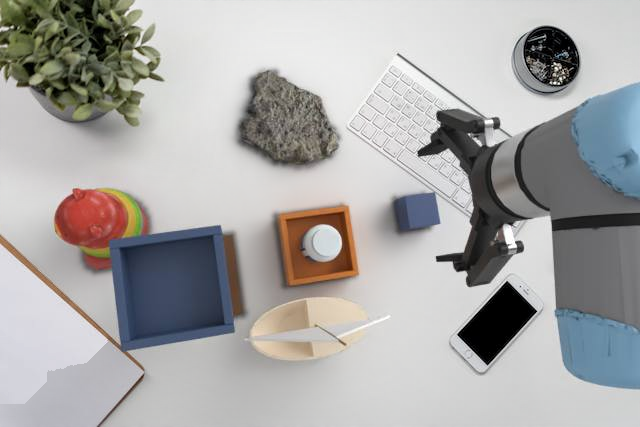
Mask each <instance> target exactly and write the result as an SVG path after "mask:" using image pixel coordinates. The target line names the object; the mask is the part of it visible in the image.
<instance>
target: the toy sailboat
mask: <svg viewBox="0 0 640 427" xmlns="http://www.w3.org/2000/svg"><path fill="white" fill-rule="evenodd" d="M390 318H391V315H383V316H378V317H377V316H376V317H371V318H368V315H367V312H366V311H365V309H363V308H362V307H361V306H360V305H359V304H357V303H354V302H352V301H350V300H348V299H344V298H343V299H342V298H339V297H332V296H331V297H329V296H316V297H304V298H301V299H296V300H291V301H288V302H286V303H283V304H280V305H277V306H275V307H274V308H271V309H270V310H268V311H266V312H264V313H263V314H262V315H261V316H260V317H259V318H258V319H257V320H255V322H254V323H253V325H252V327H251V328H250V330H249V337H245V338H244V341H247V342H248V341H250V343H251V346H252V347H253V348H254V349H255V350H256V351H258V353H260V354H262V355H265V356H267V357H269V358H273V359H277V360H282V361H298V362H300V361H309V360H310V361H311V360H316V359H320V358H324V357H328V356H332V355H334V354H337V353H339V352H342V351H344V350H345V349H348V348H349V347H351V346H353V345H354V344H355V343H357V342H358V341H359V340H360V339H361V338H362V337H363V336H364V335H365V333H366V331H367V329H368V327H370V326H372V325H375V324H378V323H379V322H383V321H384V320H388V319H390Z"/></svg>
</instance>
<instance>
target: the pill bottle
mask: <svg viewBox="0 0 640 427" xmlns="http://www.w3.org/2000/svg"><path fill="white" fill-rule="evenodd" d="M341 247H342V240H341V236H340V234H339V233H338V231H337V230H336V229H335V228H333V227H332V226H329V225H323V224H322V225H317V226H315V227H313V228H311V229H309V230H308V231H306V232H305V233H304V234H303V236H302V237H301V240H300V251H301V253H302V255H303V256H304V257H305V258H306V259H307V260H309V261H311V262H315V263H319V262H327V261H330V260H332V259H334V258H335V257H336V256H337V255H338V254H339V252H340V250H341Z"/></svg>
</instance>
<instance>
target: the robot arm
mask: <svg viewBox="0 0 640 427" xmlns="http://www.w3.org/2000/svg"><path fill="white" fill-rule="evenodd" d="M435 117H436V121H437V122H439V123H440V125H439V126H438V127H437V129H436V131H434V132H432V133H431V134H430V142H429V143H428V144H426V145H424V146H423V147H420V149H418V150H417V151H416V152H417V153H416V154H417V158H419V157H420V158H421V157H426V156H427V157H429V156H435V155H439V154H441V153H443V152H445V151H447V150H449V151H450V152H451V153H452V155H454V157H455V158H456V159H457V160H458V161H459V164H458V166H459V168H460V169H461V170H462V171H463V172H464V173H465V174H466V175H467V179H468V185H469V188H470V191H471V198H472V199H471V202H472V206H473V209H472V212H471V216H470V219H469V224H470V225H471V227H470V228H471V229H470V231H469V235H468V237H467V241H466V244H465V247H464V250H463V252H462V251H461V252H452V253H447V254H439V255H435V262H436V263H452V267H453V270H454V271H455V272H456V273H461V272H465V273H466V277H465V284H466V286H467V288H473V287H478V286H479V287H480V286H484V285H489V284H491V283H492V282H493V281H494V279H495V278H496V277H497V276H498V274H499V273H500V272H501V271H502V269H503V268H504V267H505V265H507V264H508V262H509V261H510V260H511V258H512V257H513V256H514V255H518V254H521V253H524V251H525V245H524V242H523V241H522V240H516V239H515V237H514V233H513V229H512V227H513V226H514V225H515V223H516V222H522V221H529V220H534V219H539V218H547V217H550V222H551V223H550V224H551V225H550V226H551V240H552V241H551V242H552V259H553V260H552V261H553V276H554V277H553V280H554V296H555V299H554V300H555V309H554V311H553V312H554V317H555V318H556V321H557V329H558V330H557V331H558V337H559V346H560V350H561V351H560V352H561V360H562V364H563V366H564V369H566V371H567V372H568V373H570V374H571V375H572V376H573V377H575V378H577V380H578V379H579V380H581V381H584V382H586V383H588V384H589V383H590V384H593V385H596V386H603V387H608V388H616V389H625V390H640V81H637V82H634V83H630V84H628V85H625V86H623V87H620V88H618V89H615V90H611V91H609V92H607V93H604V94H597V95H595V96H592V97H589V98H587V99H585V100H584V101H583V102H582V103H580V104H579V105H578V106H577V105H576V106H575V107H573V108H571V109H569V110H567V111H565V112H564V113H561V114H559V115H557V116H555V117H553V118H551V119H549V120H548V121H544V122H542V123H540V124H537V125H534V126H533V127H531V128H528V129H526V130H524V131H521V132H519V133H517V134H515V135H513V136H511V137H509V138H506V139H505V140H502V141H500V142H498V143H496V139H495V131H497V130H499V129H500V128H501V119H500V117H498V116H493V117H482V116H480V115H476V114H475V113H471V112H469V111H466V110H464V109H461V108H450V109H449V108H448V109H442V110H441V109H440V110H437V111H436V113H435ZM474 139H476V140H477V141H480V143H481V145H480V144H478V143H477V141H476V140H474Z"/></svg>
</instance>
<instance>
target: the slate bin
mask: <svg viewBox="0 0 640 427" xmlns="http://www.w3.org/2000/svg"><path fill="white" fill-rule="evenodd" d="M233 236H234V235H233V234H228V235H223V228H222V225H221V224H217V225H208V226H202V227H194V228H187V229H180V230H171V231H164V232H156V233H149V234H146V235H141V236H134V237H126V238H119V239H111V240H109V249H110V258H111V267H110V268H111V274H112V282H113V290H114V291H113V292H114V300H115V307H116V308H115V309H116V317H117V318H116V319H117V327H118V334H119V342H120V344H119V345H120V352H122V353H123V352H129V351H135V350H140V349H141V350H142V349H146V348H153V347H154V348H155V347H159V346H164V345H165V346H166V345H171V344H176V343H182V342H183V343H184V342H189V341H194V340H195V341H196V340H200V339H201V340H202V339H206V338H213V337H217V336H223V335H228V334H229V335H230V334H234V333H235V332H236V325H235V319H234V318H235V317H234V316H241V315H244V310H243V303H242V296H241V288H240V280H239V275H238V265H237V258H236V251H235V243H234V237H233Z"/></svg>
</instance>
